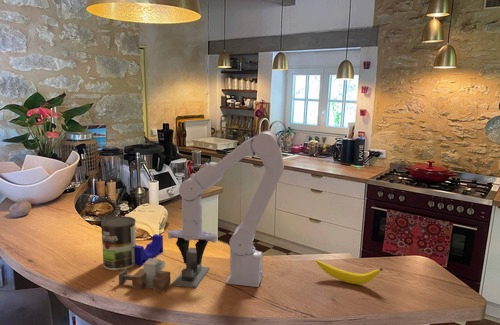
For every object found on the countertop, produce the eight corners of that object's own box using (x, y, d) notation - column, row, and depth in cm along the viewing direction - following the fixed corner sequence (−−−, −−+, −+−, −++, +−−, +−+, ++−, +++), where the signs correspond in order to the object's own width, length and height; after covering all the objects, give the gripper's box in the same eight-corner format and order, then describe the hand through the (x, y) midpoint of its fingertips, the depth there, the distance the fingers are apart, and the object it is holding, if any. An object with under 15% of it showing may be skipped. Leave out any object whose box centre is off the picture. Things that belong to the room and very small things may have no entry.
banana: (316, 273, 111) (316, 253, 110) (381, 287, 103) (383, 266, 102) (313, 277, 109) (314, 257, 108) (380, 292, 101) (382, 270, 100)
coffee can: (120, 273, 110) (117, 228, 108) (96, 266, 114) (93, 223, 112) (144, 260, 119) (142, 219, 117) (120, 254, 124) (118, 214, 121)
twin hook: (175, 267, 114) (174, 246, 113) (155, 288, 101) (155, 264, 100) (154, 265, 116) (153, 244, 114) (132, 285, 103) (131, 262, 102)
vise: (170, 283, 104) (170, 271, 104) (162, 292, 99) (162, 280, 99) (126, 278, 107) (126, 266, 106) (117, 286, 102) (116, 274, 102)
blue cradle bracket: (152, 249, 128) (151, 233, 127) (163, 251, 126) (162, 235, 125) (129, 263, 117) (128, 246, 116) (141, 266, 115) (140, 248, 114)
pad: (209, 269, 113) (209, 267, 113) (195, 288, 102) (195, 286, 102) (188, 266, 115) (188, 265, 115) (172, 285, 103) (172, 283, 103)
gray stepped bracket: (201, 270, 111) (201, 248, 110) (192, 281, 104) (192, 258, 103) (190, 269, 112) (190, 247, 111) (181, 280, 105) (180, 257, 104)
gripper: (163, 221, 104) (164, 265, 106) (211, 225, 101) (211, 271, 103) (173, 213, 111) (174, 256, 113) (218, 217, 108) (219, 260, 110)
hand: (192, 262), depth 109 cm, fingers closed on gray stepped bracket, 3 cm apart
